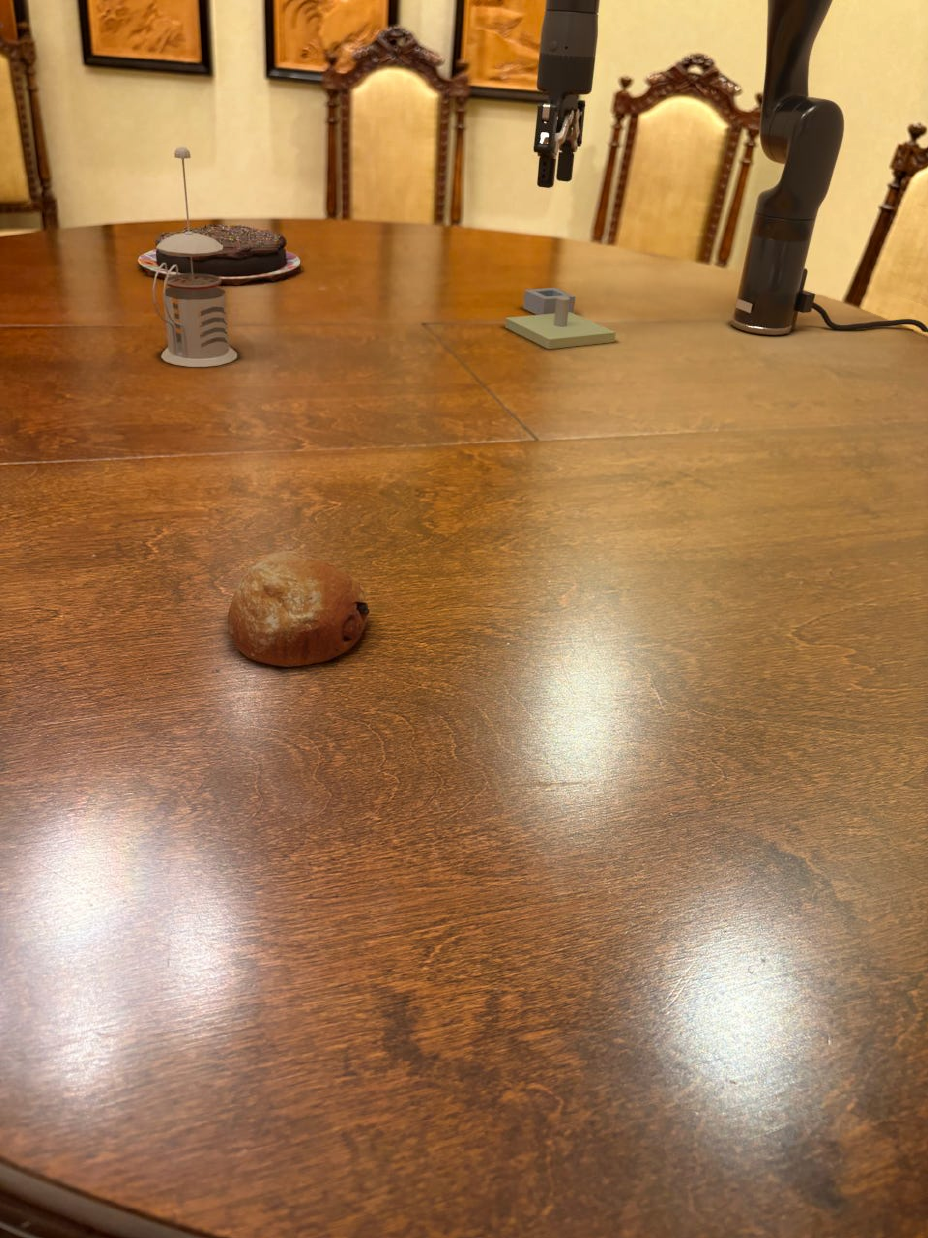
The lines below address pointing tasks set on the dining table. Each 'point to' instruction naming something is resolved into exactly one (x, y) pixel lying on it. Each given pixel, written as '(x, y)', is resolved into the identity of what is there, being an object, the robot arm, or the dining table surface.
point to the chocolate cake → (230, 256)
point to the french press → (193, 301)
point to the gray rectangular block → (545, 300)
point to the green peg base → (560, 328)
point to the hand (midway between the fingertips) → (554, 183)
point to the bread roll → (296, 611)
